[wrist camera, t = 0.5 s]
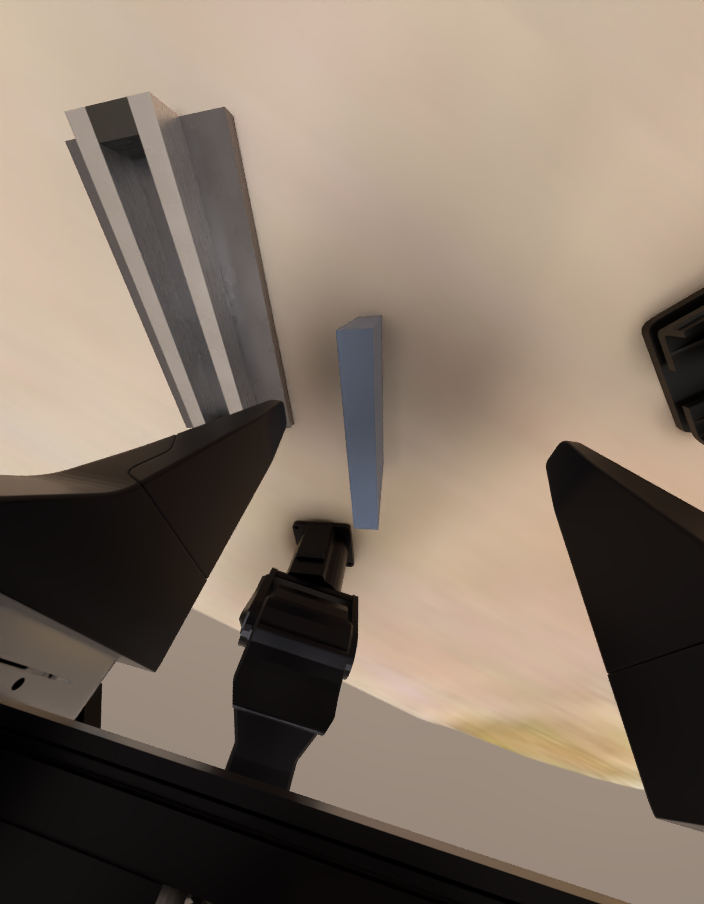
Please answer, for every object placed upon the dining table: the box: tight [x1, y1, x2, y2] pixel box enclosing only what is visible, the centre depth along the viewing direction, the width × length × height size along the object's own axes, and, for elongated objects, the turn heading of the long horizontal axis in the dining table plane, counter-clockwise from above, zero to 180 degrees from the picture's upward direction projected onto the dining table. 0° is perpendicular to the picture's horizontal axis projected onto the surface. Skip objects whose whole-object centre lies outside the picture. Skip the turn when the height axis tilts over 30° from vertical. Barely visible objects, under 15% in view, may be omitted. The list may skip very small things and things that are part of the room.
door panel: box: [336, 316, 383, 530], centre depth 18 cm, size 12×2×8 cm, turn 4°
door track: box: [65, 92, 294, 428], centre depth 18 cm, size 18×10×3 cm, turn 4°
